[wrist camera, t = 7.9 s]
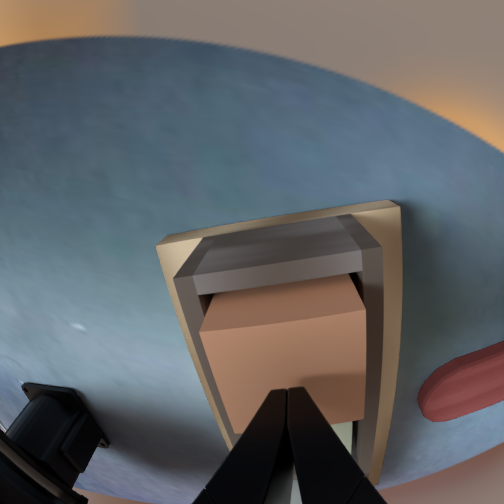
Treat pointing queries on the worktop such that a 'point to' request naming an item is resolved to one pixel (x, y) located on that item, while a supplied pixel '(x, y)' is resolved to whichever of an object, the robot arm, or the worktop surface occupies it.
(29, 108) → the worktop surface
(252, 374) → the terracotta key
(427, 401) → the popsicle
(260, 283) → the brown long open box
